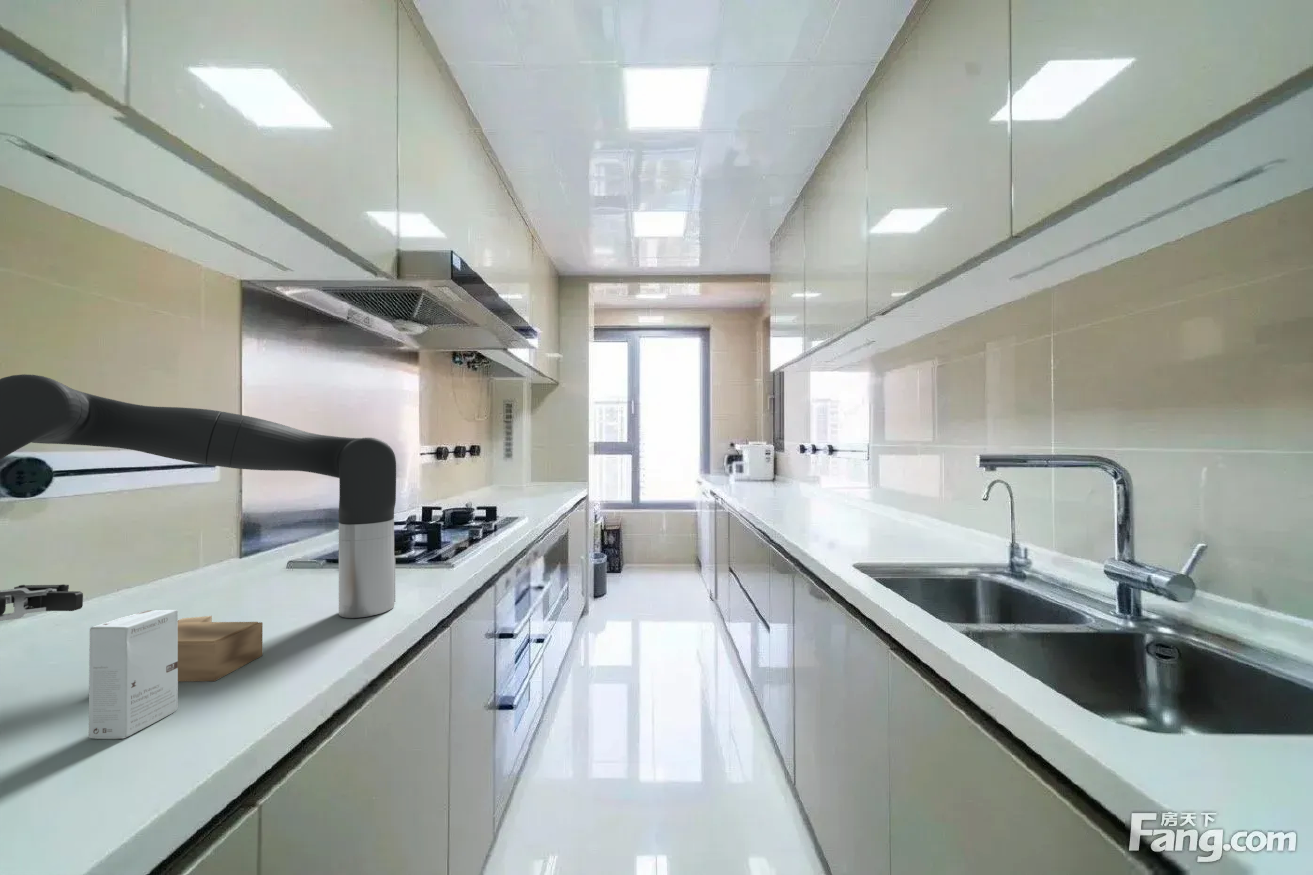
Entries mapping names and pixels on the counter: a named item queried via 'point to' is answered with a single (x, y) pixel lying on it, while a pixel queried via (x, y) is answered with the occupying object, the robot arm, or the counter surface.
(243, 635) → the block
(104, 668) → the skincare box
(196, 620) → the block
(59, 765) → the counter surface
